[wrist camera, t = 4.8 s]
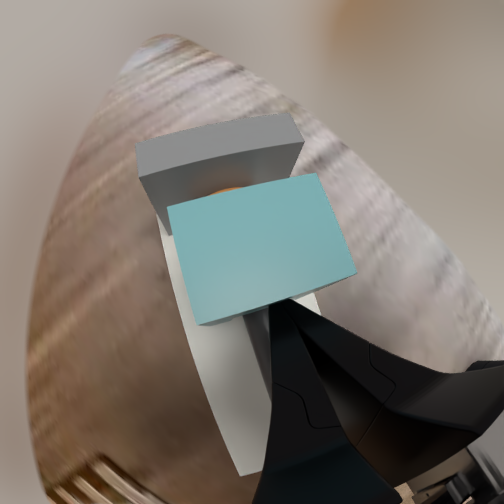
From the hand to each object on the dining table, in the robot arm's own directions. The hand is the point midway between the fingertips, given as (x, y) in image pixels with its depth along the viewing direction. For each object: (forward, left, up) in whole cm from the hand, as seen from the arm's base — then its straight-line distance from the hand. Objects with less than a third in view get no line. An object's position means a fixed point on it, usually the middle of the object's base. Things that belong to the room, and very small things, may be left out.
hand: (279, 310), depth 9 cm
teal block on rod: (+2, 0, -6) cm, 6 cm away
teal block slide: (-1, 0, -8) cm, 8 cm away
